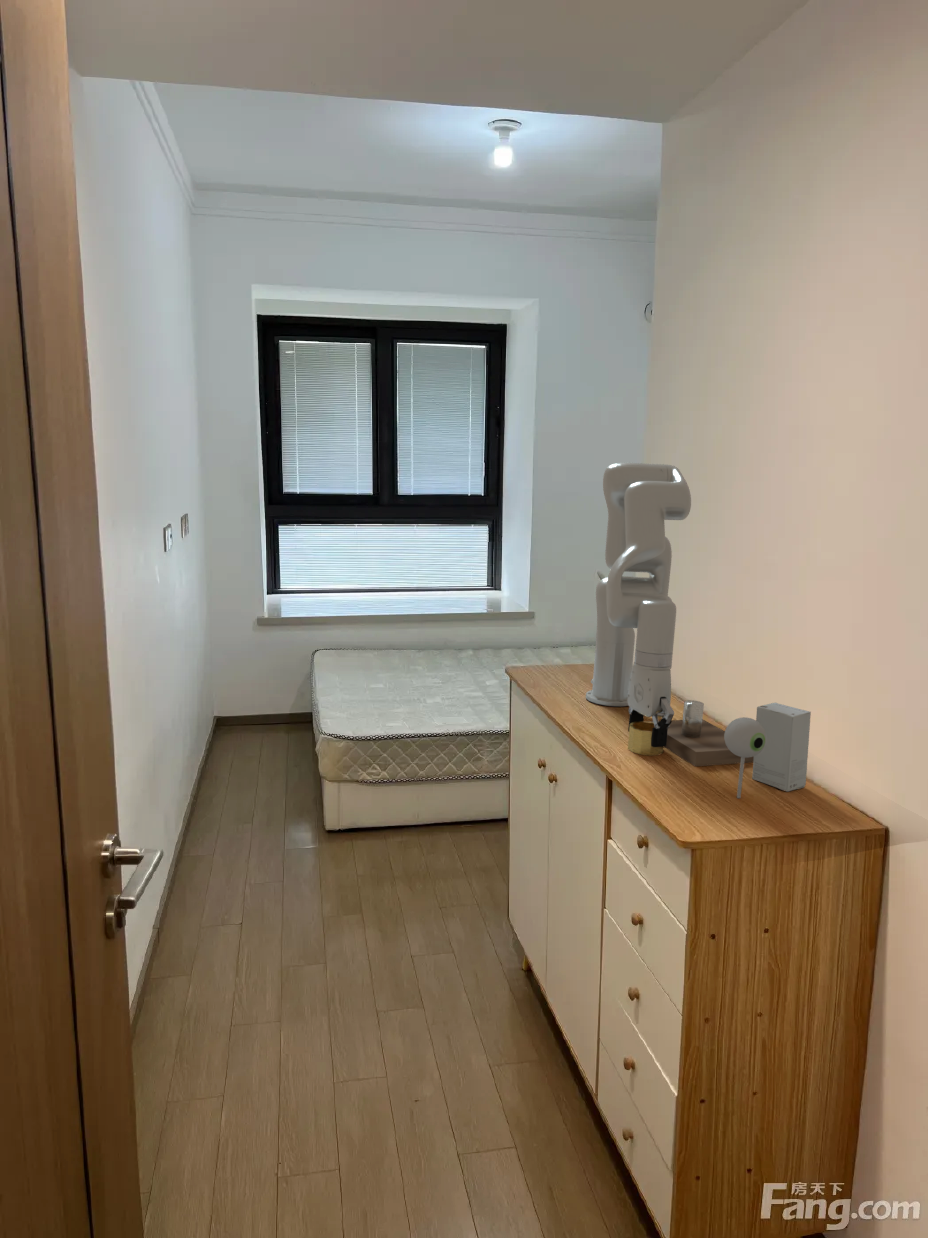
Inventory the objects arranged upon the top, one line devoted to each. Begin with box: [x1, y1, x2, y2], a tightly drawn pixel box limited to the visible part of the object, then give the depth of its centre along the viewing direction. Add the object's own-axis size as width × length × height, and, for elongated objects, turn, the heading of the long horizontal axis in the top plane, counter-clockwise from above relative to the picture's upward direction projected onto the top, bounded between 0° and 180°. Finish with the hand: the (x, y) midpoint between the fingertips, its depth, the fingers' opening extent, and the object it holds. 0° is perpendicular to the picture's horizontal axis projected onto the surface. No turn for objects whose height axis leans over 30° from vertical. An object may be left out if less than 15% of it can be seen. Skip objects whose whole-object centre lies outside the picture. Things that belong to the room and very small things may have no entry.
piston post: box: [681, 699, 705, 738], centre depth 177 cm, size 4×4×7 cm
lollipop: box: [724, 717, 766, 799], centre depth 151 cm, size 7×7×15 cm
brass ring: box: [627, 720, 664, 756], centre depth 176 cm, size 7×7×5 cm
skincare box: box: [751, 702, 812, 792], centre depth 159 cm, size 8×6×15 cm
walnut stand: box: [650, 718, 754, 767], centre depth 179 cm, size 20×14×3 cm
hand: (646, 739), depth 175 cm, fingers open, 9 cm apart
